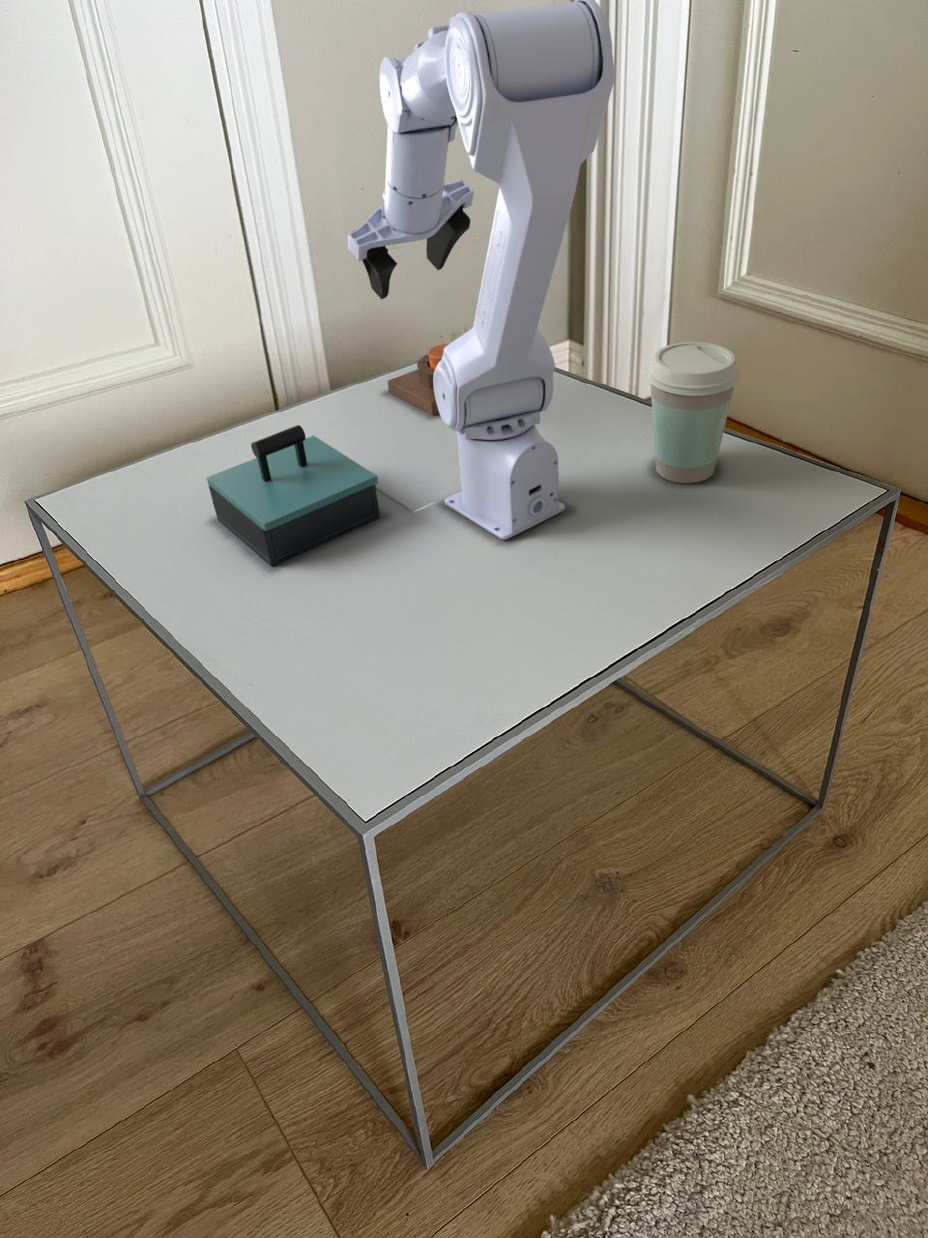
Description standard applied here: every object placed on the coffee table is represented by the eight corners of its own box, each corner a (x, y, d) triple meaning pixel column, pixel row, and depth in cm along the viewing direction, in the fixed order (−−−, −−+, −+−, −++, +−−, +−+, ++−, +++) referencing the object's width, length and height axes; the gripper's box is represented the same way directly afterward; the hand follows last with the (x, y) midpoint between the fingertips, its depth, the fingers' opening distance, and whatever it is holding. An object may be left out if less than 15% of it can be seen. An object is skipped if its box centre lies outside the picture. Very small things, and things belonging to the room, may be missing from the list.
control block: (465, 363, 121) (464, 337, 119) (511, 384, 115) (510, 357, 113) (388, 393, 115) (385, 366, 113) (432, 416, 110) (429, 388, 108)
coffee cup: (728, 492, 92) (742, 376, 85) (640, 488, 94) (646, 374, 86) (727, 450, 99) (740, 339, 91) (644, 447, 100) (650, 338, 93)
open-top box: (380, 517, 93) (375, 481, 90) (271, 567, 87) (262, 529, 85) (321, 477, 100) (315, 442, 98) (217, 520, 95) (207, 484, 92)
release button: (451, 354, 116) (450, 340, 115) (473, 364, 113) (472, 350, 112) (422, 365, 114) (421, 351, 113) (444, 375, 111) (443, 361, 110)
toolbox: (378, 483, 90) (371, 436, 87) (266, 531, 84) (254, 484, 81) (315, 441, 98) (306, 397, 95) (207, 484, 92) (195, 438, 89)
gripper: (449, 123, 95) (437, 227, 107) (329, 178, 90) (331, 280, 103) (492, 168, 93) (475, 268, 106) (372, 226, 88) (369, 324, 101)
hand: (407, 277), depth 104 cm, fingers open, 7 cm apart
